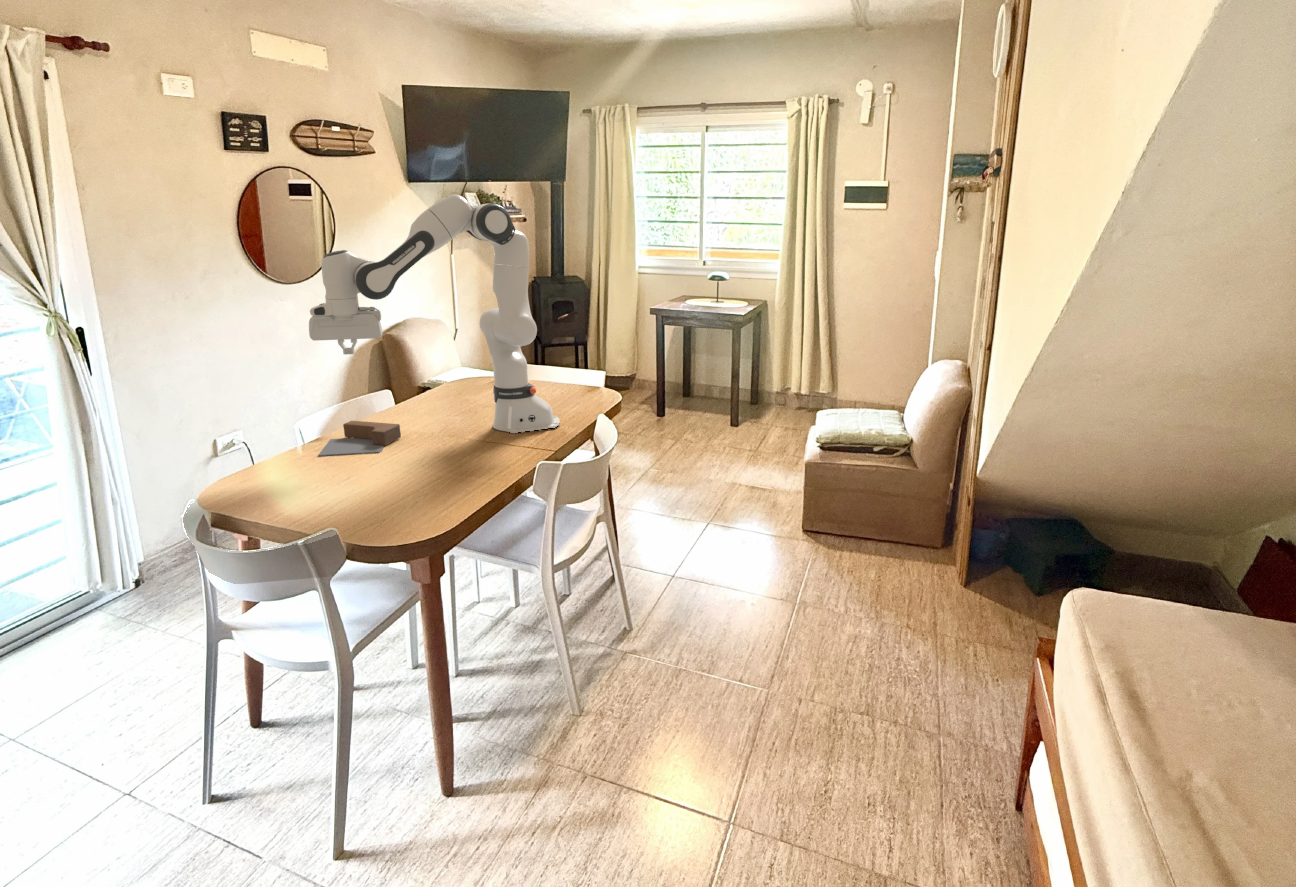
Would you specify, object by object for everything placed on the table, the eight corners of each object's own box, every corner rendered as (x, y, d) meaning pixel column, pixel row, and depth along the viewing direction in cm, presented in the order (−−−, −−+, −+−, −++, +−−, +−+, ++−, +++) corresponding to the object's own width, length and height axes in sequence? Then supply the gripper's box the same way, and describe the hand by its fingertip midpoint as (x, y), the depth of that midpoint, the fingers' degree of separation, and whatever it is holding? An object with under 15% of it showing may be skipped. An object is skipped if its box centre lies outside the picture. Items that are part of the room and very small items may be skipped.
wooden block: (383, 432, 229) (333, 428, 233) (385, 445, 230) (335, 441, 235) (400, 423, 237) (351, 420, 242) (401, 437, 238) (353, 433, 243)
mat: (389, 436, 240) (389, 435, 240) (380, 452, 225) (380, 451, 225) (330, 440, 237) (330, 439, 237) (318, 456, 222) (318, 455, 222)
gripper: (381, 305, 223) (387, 350, 227) (309, 307, 220) (316, 353, 224) (377, 308, 217) (383, 354, 221) (303, 310, 214) (311, 357, 218)
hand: (349, 354), depth 222 cm, fingers closed
